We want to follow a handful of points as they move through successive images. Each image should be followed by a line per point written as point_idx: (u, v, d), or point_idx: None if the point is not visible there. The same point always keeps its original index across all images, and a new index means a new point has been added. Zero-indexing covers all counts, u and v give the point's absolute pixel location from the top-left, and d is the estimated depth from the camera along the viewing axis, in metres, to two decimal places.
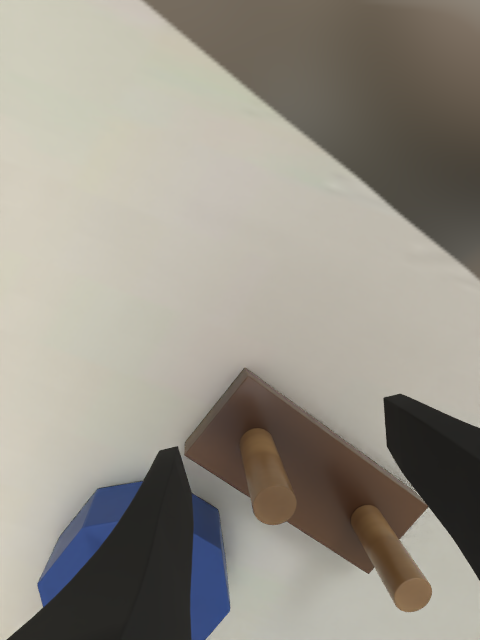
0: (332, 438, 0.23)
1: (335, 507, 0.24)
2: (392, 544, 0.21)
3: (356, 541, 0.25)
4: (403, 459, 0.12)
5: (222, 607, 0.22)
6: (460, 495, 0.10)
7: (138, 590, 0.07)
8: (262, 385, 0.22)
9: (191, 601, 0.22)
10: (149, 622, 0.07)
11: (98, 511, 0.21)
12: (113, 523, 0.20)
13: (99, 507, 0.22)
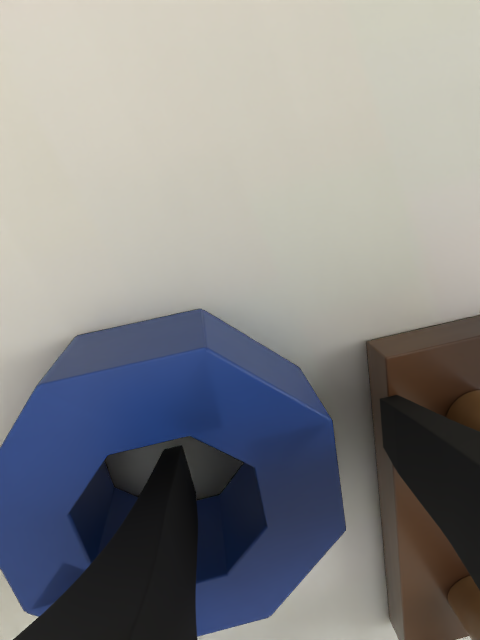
0: None
1: (457, 557, 0.16)
2: None
3: (433, 610, 0.17)
4: (399, 460, 0.12)
5: (266, 607, 0.13)
6: (455, 496, 0.10)
7: (146, 588, 0.07)
8: None
9: (238, 574, 0.12)
10: (157, 619, 0.07)
11: (221, 342, 0.11)
12: (255, 379, 0.10)
13: (220, 337, 0.11)
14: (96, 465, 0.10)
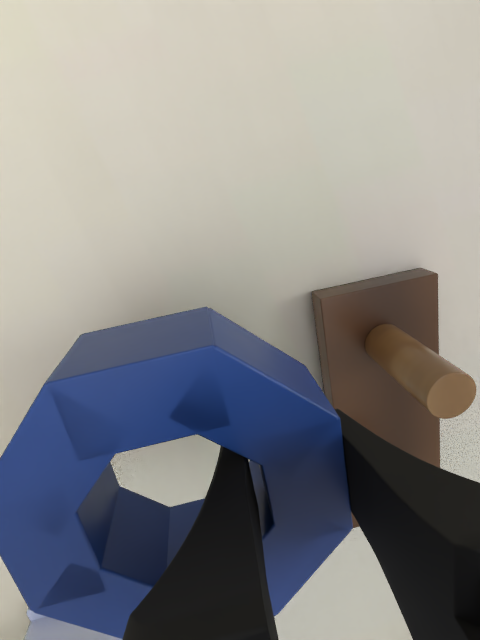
0: None
1: None
2: None
3: None
4: None
5: (273, 605, 0.13)
6: (377, 516, 0.10)
7: (256, 560, 0.07)
8: (436, 293, 0.19)
9: None
10: (264, 592, 0.07)
11: (228, 339, 0.11)
12: (264, 377, 0.10)
13: (227, 335, 0.11)
14: (103, 464, 0.10)
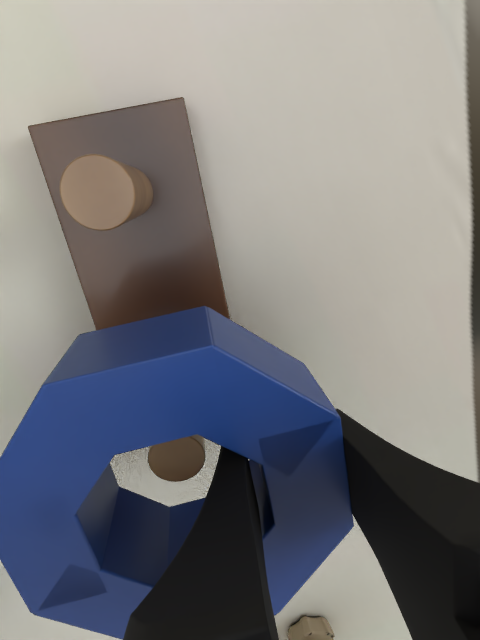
0: (215, 263, 0.17)
1: None
2: None
3: None
4: None
5: (274, 604, 0.13)
6: (377, 516, 0.10)
7: (256, 560, 0.07)
8: (189, 127, 0.15)
9: None
10: (265, 591, 0.07)
11: (227, 339, 0.11)
12: (263, 377, 0.10)
13: (226, 334, 0.11)
14: (103, 465, 0.10)
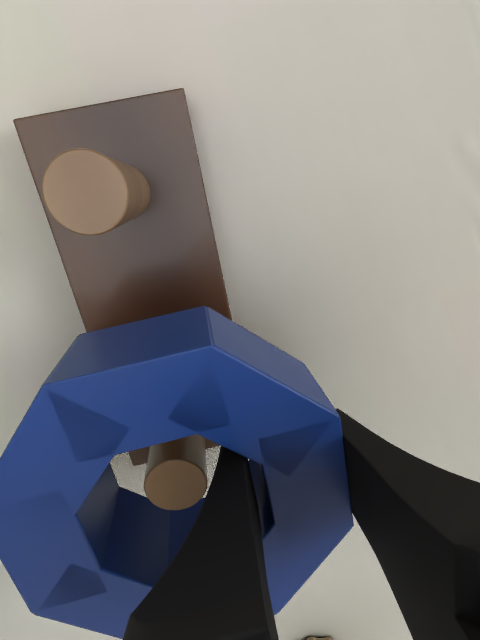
0: (217, 268, 0.16)
1: None
2: None
3: None
4: None
5: (274, 603, 0.13)
6: (378, 516, 0.10)
7: (256, 560, 0.07)
8: (190, 121, 0.14)
9: None
10: (264, 591, 0.07)
11: (227, 339, 0.11)
12: (263, 376, 0.10)
13: (226, 334, 0.11)
14: (103, 465, 0.10)
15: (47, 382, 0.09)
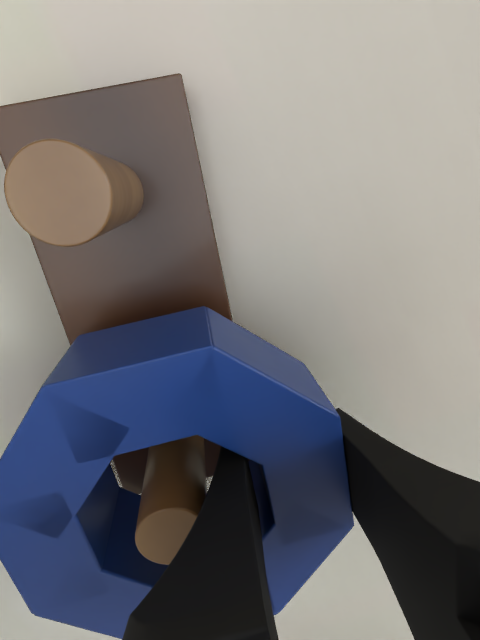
0: (220, 279, 0.14)
1: None
2: (194, 459, 0.12)
3: None
4: None
5: (275, 603, 0.13)
6: (379, 516, 0.10)
7: (256, 560, 0.07)
8: (188, 112, 0.12)
9: None
10: (264, 591, 0.07)
11: (227, 339, 0.11)
12: (263, 377, 0.10)
13: (225, 334, 0.11)
14: (103, 466, 0.10)
15: (47, 383, 0.09)
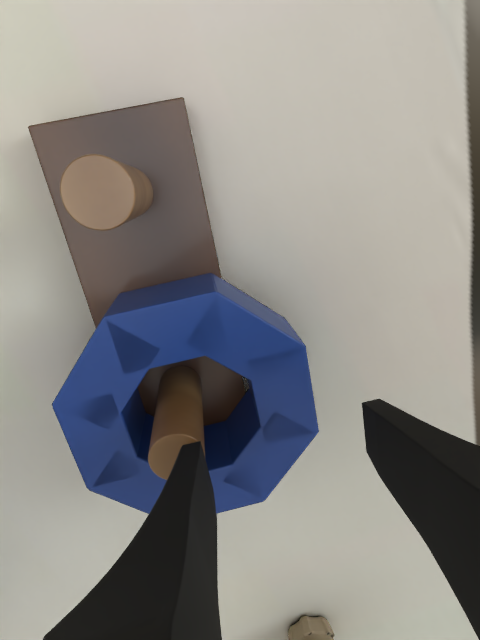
0: (215, 263, 0.17)
1: None
2: (193, 405, 0.15)
3: (151, 402, 0.19)
4: (381, 464, 0.12)
5: (261, 492, 0.17)
6: (432, 502, 0.10)
7: (180, 579, 0.07)
8: (189, 127, 0.15)
9: (240, 464, 0.16)
10: (190, 610, 0.07)
11: (227, 291, 0.15)
12: (250, 315, 0.14)
13: (225, 289, 0.15)
14: (141, 376, 0.15)
15: (106, 315, 0.14)
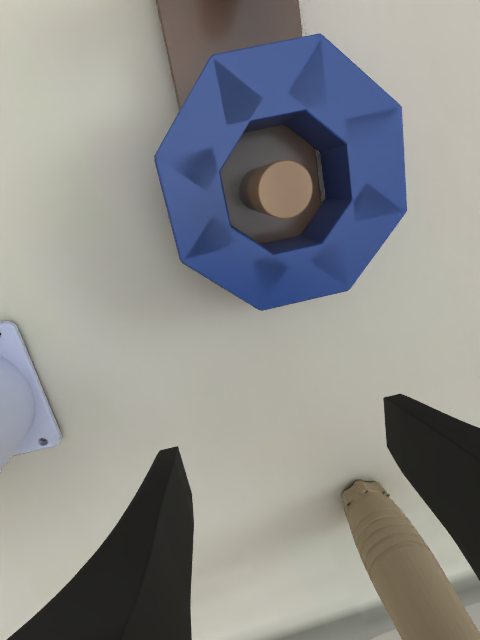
0: None
1: (241, 144, 0.18)
2: None
3: (230, 208, 0.19)
4: (403, 459, 0.12)
5: (347, 278, 0.17)
6: (460, 495, 0.10)
7: (138, 590, 0.07)
8: None
9: (329, 243, 0.17)
10: (149, 622, 0.07)
11: None
12: (352, 65, 0.15)
13: None
14: (242, 129, 0.15)
15: (213, 54, 0.14)
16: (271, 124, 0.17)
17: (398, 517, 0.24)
